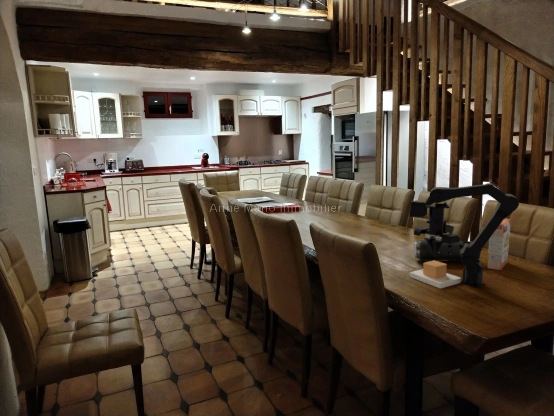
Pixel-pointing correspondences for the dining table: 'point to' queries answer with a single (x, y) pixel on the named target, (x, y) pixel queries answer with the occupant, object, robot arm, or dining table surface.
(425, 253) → the muzzle brake
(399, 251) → the dining table surface
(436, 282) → the socket plate
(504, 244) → the cracker box
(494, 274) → the dining table surface
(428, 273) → the plug
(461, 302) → the dining table surface
